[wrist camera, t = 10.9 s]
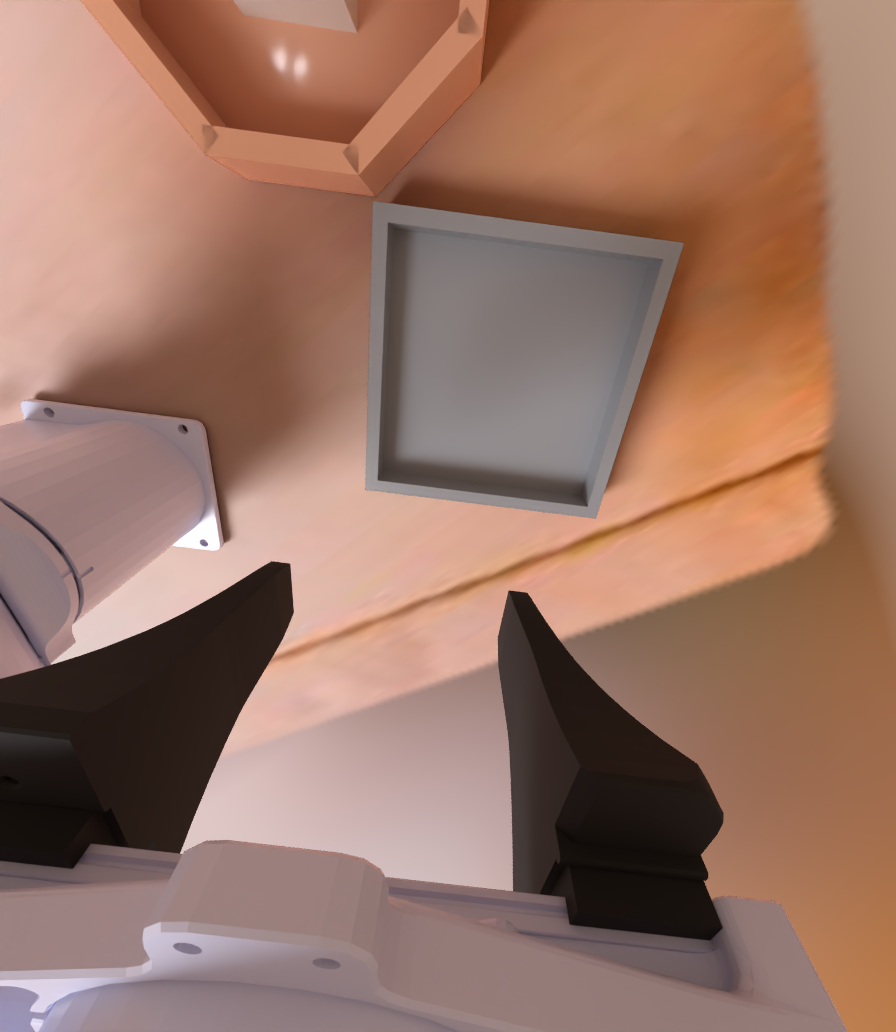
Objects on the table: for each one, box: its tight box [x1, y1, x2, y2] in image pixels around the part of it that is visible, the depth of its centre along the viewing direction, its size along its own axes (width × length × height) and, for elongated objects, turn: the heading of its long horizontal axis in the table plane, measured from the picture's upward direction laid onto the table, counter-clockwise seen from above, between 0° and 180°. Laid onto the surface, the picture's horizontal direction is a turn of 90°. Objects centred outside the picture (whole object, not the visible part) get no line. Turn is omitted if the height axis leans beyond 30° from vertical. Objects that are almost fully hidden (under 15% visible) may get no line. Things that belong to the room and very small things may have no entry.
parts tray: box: [365, 201, 684, 519], centre depth 19 cm, size 12×12×2 cm
